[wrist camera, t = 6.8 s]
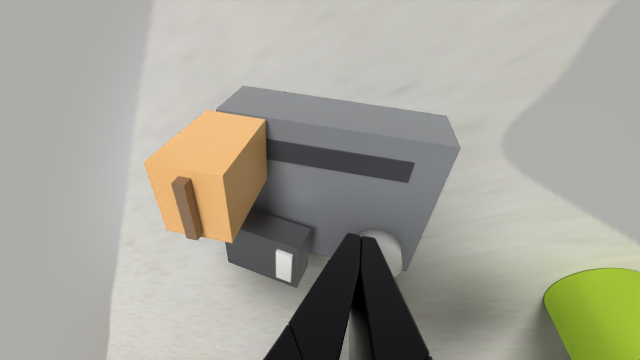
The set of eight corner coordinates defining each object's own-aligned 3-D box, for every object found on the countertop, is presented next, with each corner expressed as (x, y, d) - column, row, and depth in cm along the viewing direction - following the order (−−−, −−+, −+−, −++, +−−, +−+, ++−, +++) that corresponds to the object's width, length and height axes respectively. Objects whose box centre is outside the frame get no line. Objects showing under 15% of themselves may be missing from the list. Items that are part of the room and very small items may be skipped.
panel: (402, 231, 18) (407, 290, 15) (252, 204, 19) (225, 254, 16) (446, 116, 14) (468, 164, 10) (243, 85, 14) (201, 121, 11)
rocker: (307, 266, 16) (295, 290, 15) (242, 243, 17) (226, 264, 15) (310, 228, 14) (298, 252, 13) (238, 204, 15) (220, 224, 14)
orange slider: (267, 178, 14) (227, 251, 10) (216, 169, 14) (160, 238, 10) (265, 119, 12) (216, 184, 8) (207, 110, 12) (134, 169, 8)
